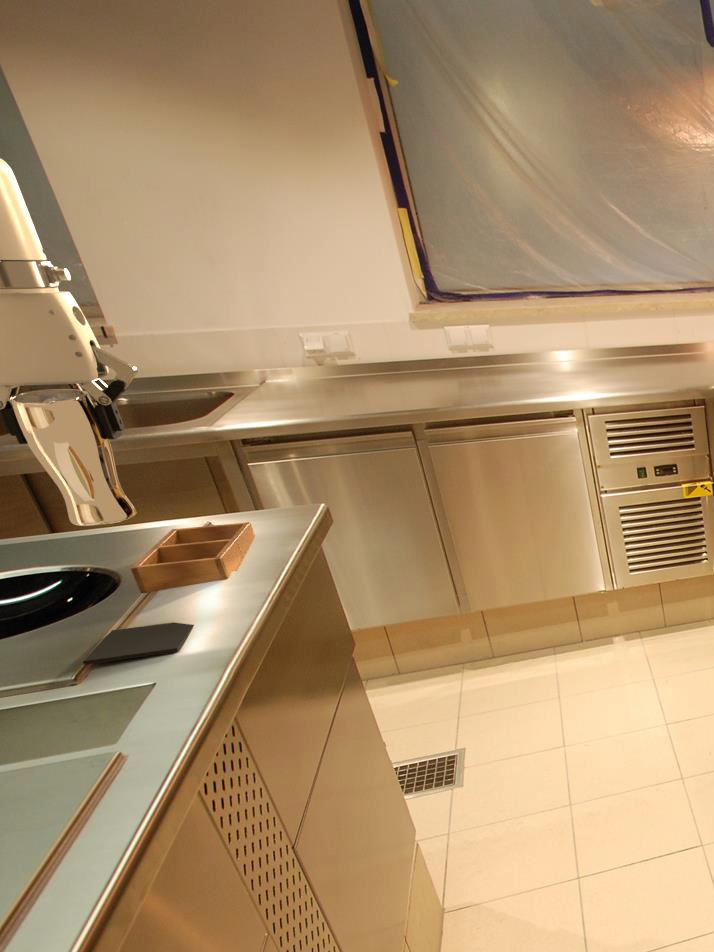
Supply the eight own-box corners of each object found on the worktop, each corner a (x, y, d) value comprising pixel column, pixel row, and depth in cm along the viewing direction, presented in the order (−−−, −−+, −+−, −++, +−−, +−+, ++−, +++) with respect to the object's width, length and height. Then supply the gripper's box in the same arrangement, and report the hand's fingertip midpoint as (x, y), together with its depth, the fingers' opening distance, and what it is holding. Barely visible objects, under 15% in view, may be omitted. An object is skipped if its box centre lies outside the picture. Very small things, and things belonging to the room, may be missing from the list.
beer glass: (50, 522, 102) (-12, 398, 94) (112, 503, 108) (58, 385, 100) (96, 531, 101) (37, 406, 93) (156, 511, 107) (105, 392, 99)
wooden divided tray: (143, 600, 120) (129, 568, 118) (183, 558, 135) (171, 529, 133) (232, 590, 124) (220, 558, 122) (260, 550, 140) (250, 521, 137)
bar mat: (83, 665, 102) (82, 661, 102) (113, 633, 110) (111, 630, 110) (178, 651, 106) (176, 648, 105) (200, 622, 114) (198, 619, 113)
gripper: (121, 278, 100) (174, 429, 107) (-88, 275, 92) (-14, 438, 99) (99, 280, 94) (157, 440, 101) (-126, 278, 86) (-45, 451, 93)
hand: (72, 438), depth 100 cm, fingers closed on beer glass, 7 cm apart
